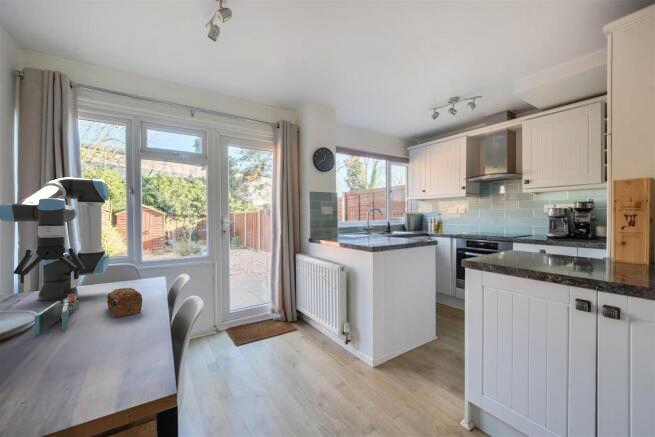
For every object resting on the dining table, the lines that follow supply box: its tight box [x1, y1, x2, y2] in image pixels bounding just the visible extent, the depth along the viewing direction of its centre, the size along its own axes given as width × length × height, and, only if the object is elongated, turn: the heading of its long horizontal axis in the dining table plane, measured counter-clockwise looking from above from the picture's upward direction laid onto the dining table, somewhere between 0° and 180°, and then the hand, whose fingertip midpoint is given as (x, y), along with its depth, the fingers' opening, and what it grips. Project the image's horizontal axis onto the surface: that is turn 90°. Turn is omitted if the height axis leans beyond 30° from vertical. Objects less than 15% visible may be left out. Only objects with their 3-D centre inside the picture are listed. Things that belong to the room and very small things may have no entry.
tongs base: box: [34, 299, 80, 337], centre depth 111 cm, size 31×4×7 cm, turn 28°
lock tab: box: [67, 294, 77, 301], centre depth 123 cm, size 3×3×3 cm
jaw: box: [61, 298, 71, 330], centre depth 109 cm, size 23×2×7 cm, turn 43°
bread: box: [106, 287, 143, 318], centre depth 123 cm, size 19×11×10 cm, turn 47°
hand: (50, 289), depth 107 cm, fingers open, 13 cm apart
